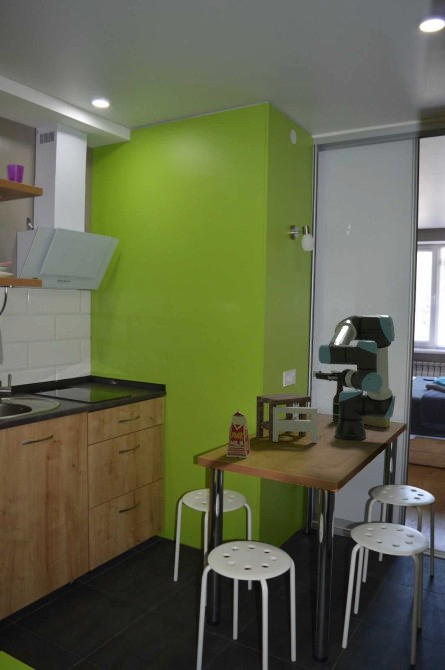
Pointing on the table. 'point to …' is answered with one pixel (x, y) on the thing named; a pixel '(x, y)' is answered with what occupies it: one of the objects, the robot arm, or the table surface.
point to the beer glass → (296, 415)
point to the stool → (275, 400)
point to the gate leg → (295, 422)
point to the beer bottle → (337, 402)
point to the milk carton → (238, 437)
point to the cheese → (376, 421)
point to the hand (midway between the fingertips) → (322, 373)
